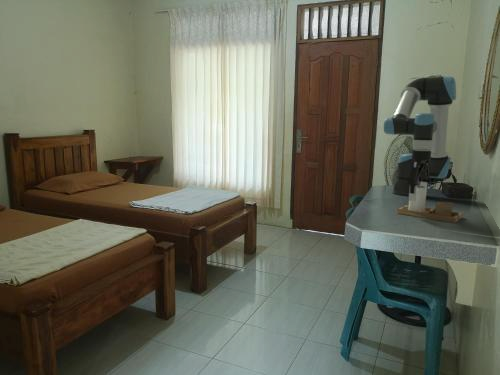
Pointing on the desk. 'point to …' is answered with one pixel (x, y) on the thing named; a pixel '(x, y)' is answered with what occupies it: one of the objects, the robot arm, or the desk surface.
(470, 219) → the desk surface
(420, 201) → the can
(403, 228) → the desk surface
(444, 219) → the caddy
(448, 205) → the walnut block
